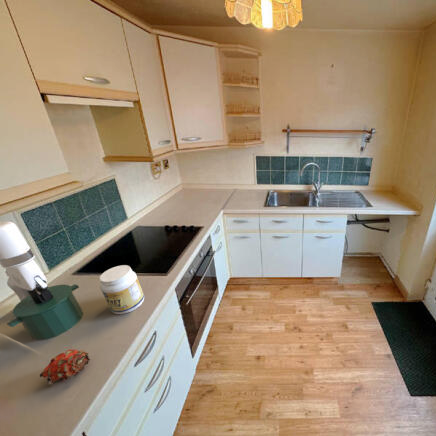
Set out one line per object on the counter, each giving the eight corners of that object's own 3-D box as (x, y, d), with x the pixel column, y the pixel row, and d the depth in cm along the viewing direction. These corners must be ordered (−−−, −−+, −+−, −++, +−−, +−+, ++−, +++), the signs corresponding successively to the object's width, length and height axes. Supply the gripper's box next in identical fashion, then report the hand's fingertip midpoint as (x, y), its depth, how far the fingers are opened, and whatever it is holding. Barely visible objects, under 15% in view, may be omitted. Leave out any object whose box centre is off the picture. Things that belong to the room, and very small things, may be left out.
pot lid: (4, 312, 80) (-7, 298, 77) (57, 283, 93) (49, 270, 90) (30, 323, 75) (20, 309, 72) (82, 291, 89) (75, 278, 86)
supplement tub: (104, 314, 93) (87, 282, 86) (126, 293, 104) (113, 262, 97) (131, 316, 92) (117, 284, 84) (151, 295, 103) (140, 264, 95)
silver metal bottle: (21, 313, 94) (-7, 275, 86) (37, 301, 100) (12, 264, 92) (37, 313, 94) (11, 274, 86) (52, 301, 100) (29, 264, 92)
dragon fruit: (98, 368, 75) (54, 388, 71) (96, 342, 78) (53, 359, 74) (80, 371, 67) (30, 394, 64) (78, 342, 71) (30, 361, 67)
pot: (14, 340, 83) (-5, 317, 78) (76, 301, 100) (63, 279, 95) (38, 352, 79) (20, 328, 73) (99, 309, 96) (87, 287, 91)
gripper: (-14, 259, 75) (16, 300, 83) (16, 269, 70) (44, 312, 78) (17, 247, 82) (42, 287, 89) (46, 255, 77) (70, 296, 84)
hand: (43, 298), depth 84 cm, fingers closed on pot lid, 4 cm apart
